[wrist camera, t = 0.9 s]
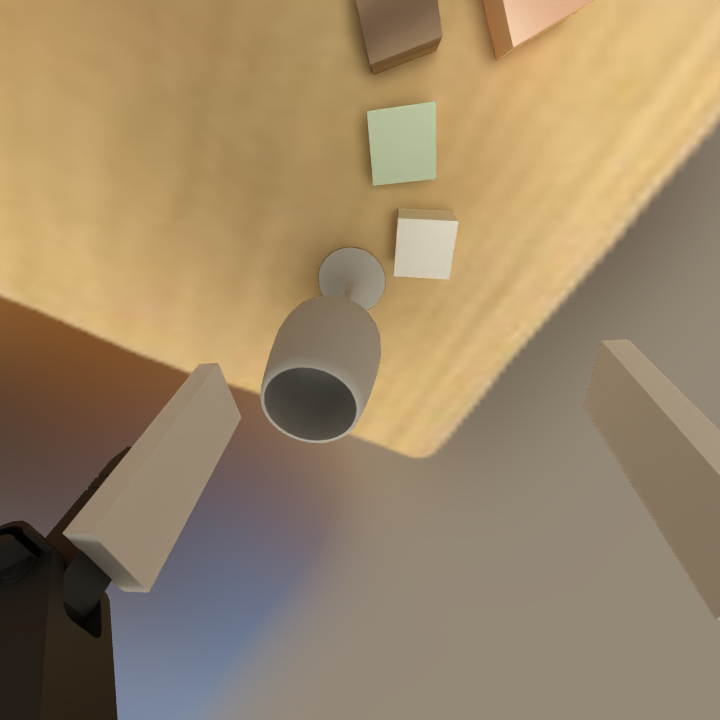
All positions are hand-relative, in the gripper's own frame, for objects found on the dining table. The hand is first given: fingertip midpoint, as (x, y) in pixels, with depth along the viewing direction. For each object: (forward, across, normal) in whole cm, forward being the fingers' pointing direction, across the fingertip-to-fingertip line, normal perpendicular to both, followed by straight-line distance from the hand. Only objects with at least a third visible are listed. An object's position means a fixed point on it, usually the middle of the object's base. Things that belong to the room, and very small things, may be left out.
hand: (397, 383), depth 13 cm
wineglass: (+26, -6, -6) cm, 27 cm away
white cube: (+26, +2, -2) cm, 26 cm away
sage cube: (+27, +1, +6) cm, 27 cm away
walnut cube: (+27, +1, +14) cm, 30 cm away
